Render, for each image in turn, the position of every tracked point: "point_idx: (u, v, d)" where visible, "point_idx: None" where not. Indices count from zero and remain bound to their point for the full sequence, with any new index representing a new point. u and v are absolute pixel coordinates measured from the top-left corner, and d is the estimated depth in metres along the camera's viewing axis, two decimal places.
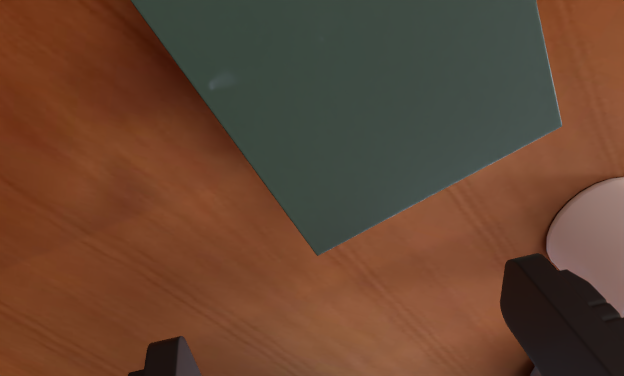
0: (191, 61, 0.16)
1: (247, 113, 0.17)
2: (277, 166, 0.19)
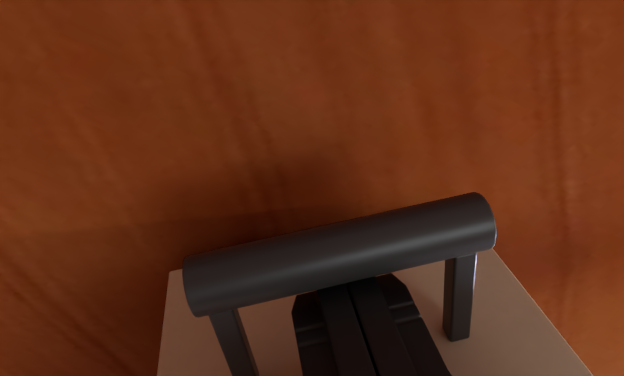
0: None
1: None
2: None
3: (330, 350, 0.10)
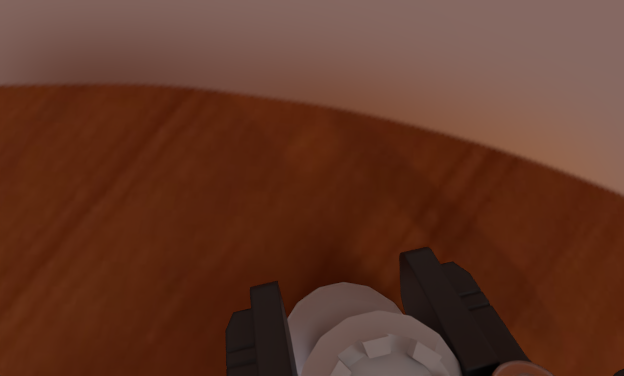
0: None
1: None
2: None
3: None
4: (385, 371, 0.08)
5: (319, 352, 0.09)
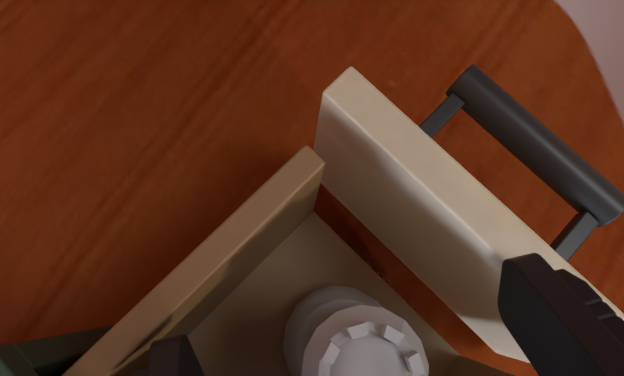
0: None
1: None
2: None
3: None
4: (364, 348, 0.11)
5: (316, 338, 0.11)
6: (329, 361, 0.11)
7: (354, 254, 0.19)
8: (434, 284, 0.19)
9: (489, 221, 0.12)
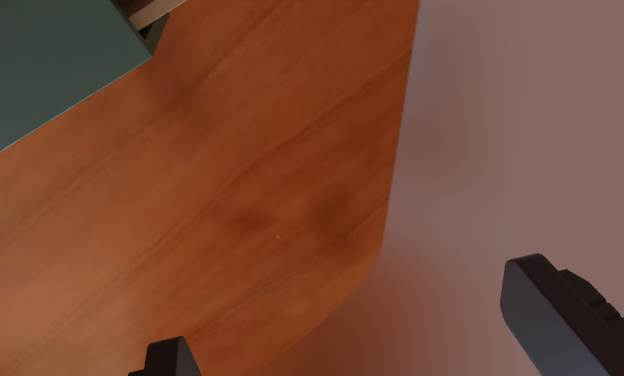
0: None
1: None
2: None
3: None
4: None
5: None
6: None
7: None
8: None
9: None
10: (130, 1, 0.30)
